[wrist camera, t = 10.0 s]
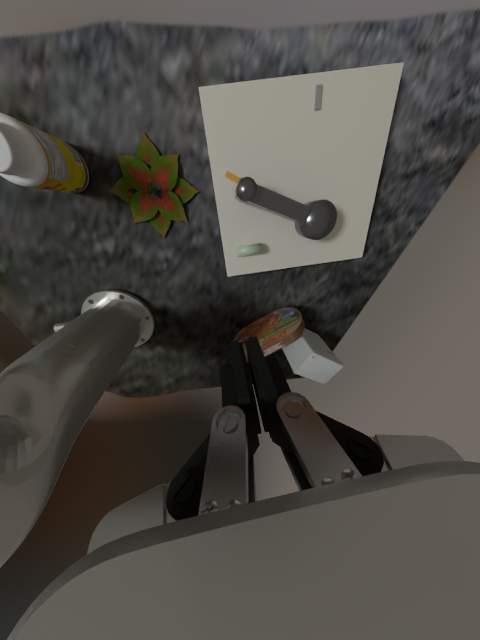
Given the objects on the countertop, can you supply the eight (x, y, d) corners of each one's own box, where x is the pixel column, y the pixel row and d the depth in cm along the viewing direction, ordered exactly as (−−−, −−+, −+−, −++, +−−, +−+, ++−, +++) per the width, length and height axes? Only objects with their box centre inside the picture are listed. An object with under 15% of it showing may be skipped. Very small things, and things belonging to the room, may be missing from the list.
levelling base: (227, 273, 33) (227, 279, 30) (200, 97, 22) (196, 77, 19) (354, 255, 34) (368, 259, 31) (390, 73, 23) (416, 51, 20)
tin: (291, 301, 38) (308, 321, 30) (297, 312, 39) (314, 334, 32) (229, 334, 40) (231, 360, 33) (236, 343, 42) (240, 371, 35)
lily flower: (167, 252, 31) (159, 257, 27) (95, 191, 26) (73, 186, 22) (214, 192, 28) (212, 187, 24) (140, 109, 23) (123, 86, 19)
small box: (277, 339, 42) (292, 373, 33) (292, 320, 40) (313, 351, 31) (303, 351, 45) (324, 386, 36) (318, 334, 43) (345, 366, 33)
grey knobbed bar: (332, 208, 28) (349, 207, 24) (316, 242, 30) (329, 245, 26) (240, 167, 24) (244, 159, 21) (230, 209, 27) (231, 208, 23)
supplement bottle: (44, 182, 25) (-52, 164, 16) (41, 131, 23) (-74, 77, 14) (91, 201, 27) (26, 194, 18) (92, 155, 24) (18, 120, 15)
